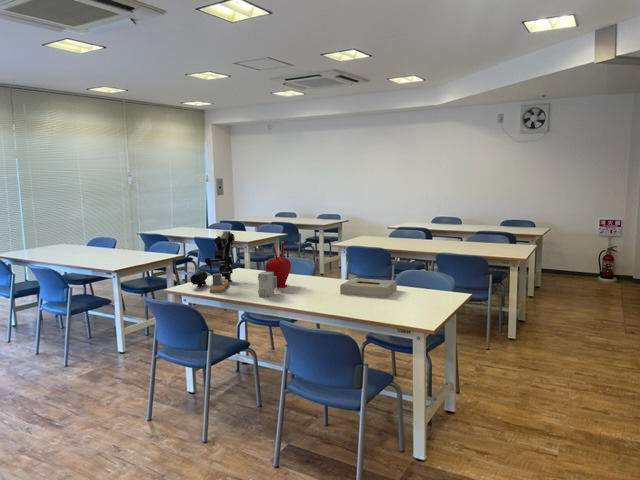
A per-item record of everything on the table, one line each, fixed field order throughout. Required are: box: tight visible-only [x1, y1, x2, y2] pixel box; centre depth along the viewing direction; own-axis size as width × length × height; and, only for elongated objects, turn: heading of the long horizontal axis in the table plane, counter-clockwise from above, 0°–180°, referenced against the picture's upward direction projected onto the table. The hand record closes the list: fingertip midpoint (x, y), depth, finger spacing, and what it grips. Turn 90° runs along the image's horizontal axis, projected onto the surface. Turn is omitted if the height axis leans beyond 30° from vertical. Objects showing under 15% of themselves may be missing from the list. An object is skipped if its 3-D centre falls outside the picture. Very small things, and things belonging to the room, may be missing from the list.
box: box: [339, 277, 398, 299], centre depth 306 cm, size 23×8×32 cm
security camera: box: [190, 270, 208, 288], centre depth 332 cm, size 7×18×10 cm, turn 174°
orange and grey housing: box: [209, 277, 230, 294], centre depth 323 cm, size 21×9×7 cm, turn 0°
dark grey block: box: [212, 273, 222, 286], centre depth 317 cm, size 5×5×10 cm
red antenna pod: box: [264, 242, 292, 289], centre depth 326 cm, size 21×13×30 cm, turn 160°
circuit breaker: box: [257, 271, 278, 298], centre depth 304 cm, size 8×14×15 cm, turn 161°
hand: (217, 270), depth 319 cm, fingers open, 9 cm apart
